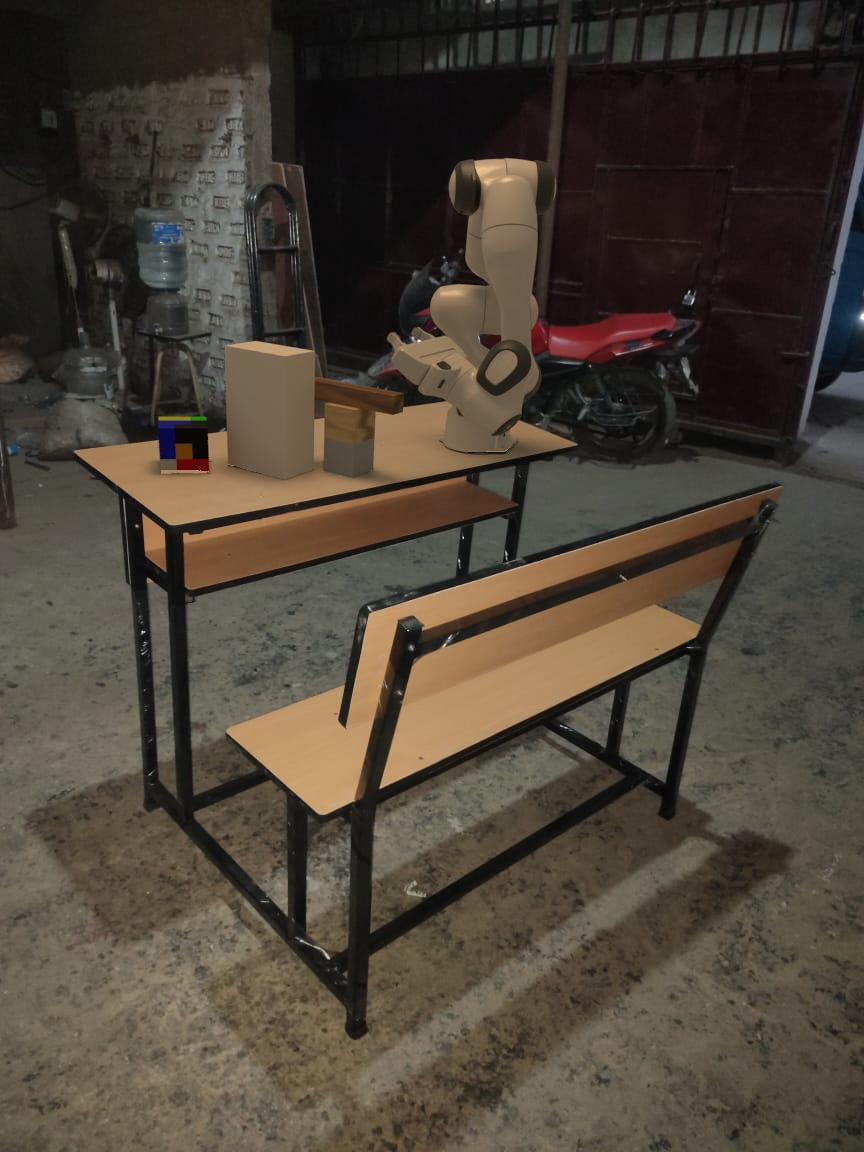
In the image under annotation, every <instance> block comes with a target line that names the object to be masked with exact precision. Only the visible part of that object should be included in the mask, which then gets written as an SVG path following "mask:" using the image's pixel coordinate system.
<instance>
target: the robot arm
mask: <svg viewBox="0 0 864 1152" xmlns="http://www.w3.org/2000/svg"><path fill="white" fill-rule="evenodd" d="M556 193H557V179H556V175H555V171H554V168H553V167H552V166H551V164H550V163H547V162H545V161H541V160H537V159H535V160H534V161H531V160H528V159H519V158H509V157H508V158H507V157H504V158H491V159H490V158H489V159H480V160H474V159H466V160H461V161H459V162H457V164H456V165H454V167H453V170H452V173H451V175H450V178H449V181H448V194H449V199H450V201H451V205H452V207H453V209H454V210H455V211H456V212H457V213H459V214H462V215H465V216H468V220H467V231H466V243H465V244H466V245H465V257H464V258H465V263H466V265H467V267H468V268H469V270H470V271H471V272H472V273H474V275H476V276H477V277H479V278H481V279H483V280H484V281H485V282H486V283H487V284H488V285H474V284H462V283H461V284H460V283H457V284H449V285H442V286H440V287H439V288H437V290H435V292H434V293H433V294H432V295H433V296H432V297H431V300H430V304H429V306H430V307H429V311H430V316H431V319H432V321H433V323H434V324H435V325H436V327H437V328H438V329H439V330H441V332H442V333H444V334H445V335H442V336H441V335H440V336H439V337H435V336H434V335H433V334H430V333H428V332H426V331H424V330H423V329H422V328H421V327H420V326H419V327H418V326H417V327H414V328H413V329H412V331H411V332H410V335H411V336H412V337H413V338H414V339H416V340H419V341H416V342H413V343H407V344H406V343H405V342H402V340H401V336H400V335H399V334H397V332H395V331H393V332H389V334H388V335H387V337H386V340H387V342H389V344H391V345H392V348H393V349H394V354H393V355H392V357H391V362H392V365H393V366H394V367H395V368H396V369H397V371H399V373H401V375H403V376H404V377H405V378H406V379H407V380H408V381H409V382H411V383H412V384H414V385H415V386H418V388H417V390H418V392H420V394H422V395H423V396H430V397H437V398H440V399H444V400H445V401H446V402H447V403H448V404H449V405H452V406H451V407H450V408H448V409H447V411H446V418H445V423H444V431H443V434H442V435H440V436H439V441H440V442H442V443H443V444H444V446H445V447H446V448H448V449H450V450H454V451H458V452H462V453H468V452H486V451H505V450H507V449H508V448H509V447H511V446H512V445H513V444H514V443H515V442H516V441H517V440H518V441H519V437H518V436H516V435H513V434H511V433H510V432H511V429H512V428H513V427H515V426H516V425H517V423H518V422H519V421H520V420H521V418H522V414H523V413H522V409H523V404H524V402H526V401H528V400H529V399H531V398H532V397H533V396H534V395H536V393H537V392H538V390H539V389H540V386H541V383H542V372H541V368H540V366H539V364H538V362H537V359H536V358H535V355H534V352H533V341H532V339H533V338H532V330H533V328H534V326H535V325H536V323H537V320H538V317H539V306H538V302H537V299H536V297H535V296H534V294H533V288H534V287H533V286H534V277H535V272H536V271H535V270H536V264H537V254H538V240H539V239H538V236H539V235H538V233H539V232H538V216H540V215H544V214H546V213H547V212H548V211H550V209H552V205H553V202H554V200H555V197H556ZM484 334H485V335H494V336H500V337H501V338H500V339H501V341H499V342H496V343H495V344H494V345H493V346H492V347H491V348H490V349H489V348H487V347H486V346H484V345H483V344H482V343H481V342H480V341H479V336H480V335H484ZM518 441H517V442H518ZM517 442H516V443H517ZM516 443H515V444H516ZM515 444H514V445H515ZM514 445H513V446H514ZM513 446H512V447H513ZM512 447H511V448H512Z"/></svg>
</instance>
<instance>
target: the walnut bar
mask: <svg viewBox="0 0 864 1152" xmlns="http://www.w3.org/2000/svg"><path fill="white" fill-rule="evenodd" d="M404 397H405V393H403V392H398V391H394V390H393V391H392V390H388V389H383V388H378V387H371V386H366V385H362V384H357V383H351V382H345V381H340V380H335V379H330V378H325V377H320V376H319V377H318V376H315V395H314V401H321V402H326V403H335V404H340V405H345V406H350V407H355V408H360V409H365V410H370V411H375V412H376V413H381V414H386V415H391V416H394V415H398V414H400V413H401V414H402V413H404Z"/></svg>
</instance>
